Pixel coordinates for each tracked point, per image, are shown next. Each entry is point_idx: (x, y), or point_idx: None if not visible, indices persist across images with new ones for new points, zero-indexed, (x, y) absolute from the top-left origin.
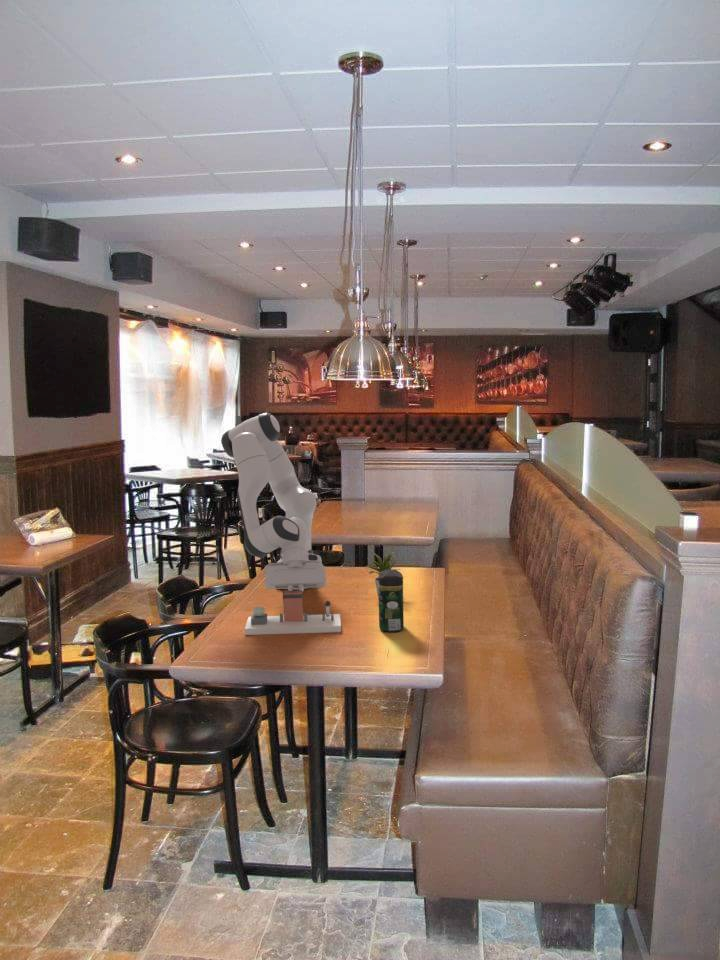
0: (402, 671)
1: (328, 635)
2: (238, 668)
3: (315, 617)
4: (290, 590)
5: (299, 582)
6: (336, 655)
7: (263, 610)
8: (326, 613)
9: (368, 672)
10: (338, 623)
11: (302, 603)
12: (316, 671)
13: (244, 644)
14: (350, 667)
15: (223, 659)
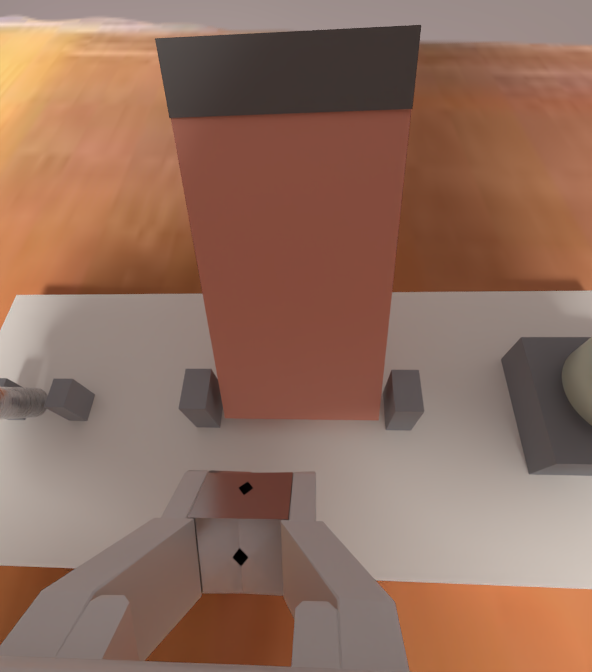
0: (8, 33)
1: (122, 276)
2: (479, 43)
3: (123, 485)
4: (334, 552)
5: (50, 668)
6: (150, 106)
7: (589, 345)
8: (27, 393)
9: (96, 29)
10: (12, 334)
11: (199, 250)
12: (235, 32)
13: (541, 199)
14: (133, 48)
15: (565, 88)
